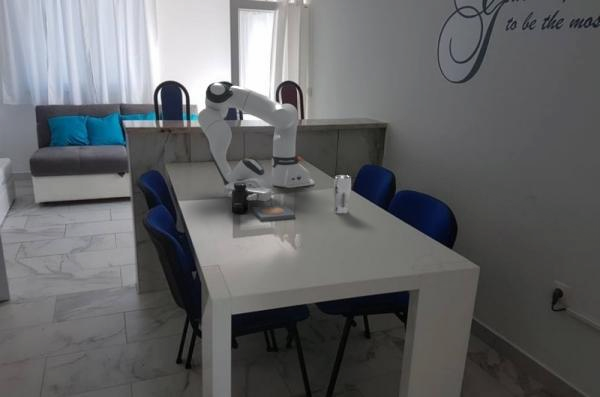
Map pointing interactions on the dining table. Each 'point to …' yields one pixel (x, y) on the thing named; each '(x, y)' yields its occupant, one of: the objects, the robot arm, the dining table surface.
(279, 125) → the robot arm
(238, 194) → the supplement bottle
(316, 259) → the dining table surface
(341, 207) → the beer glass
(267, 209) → the mat
